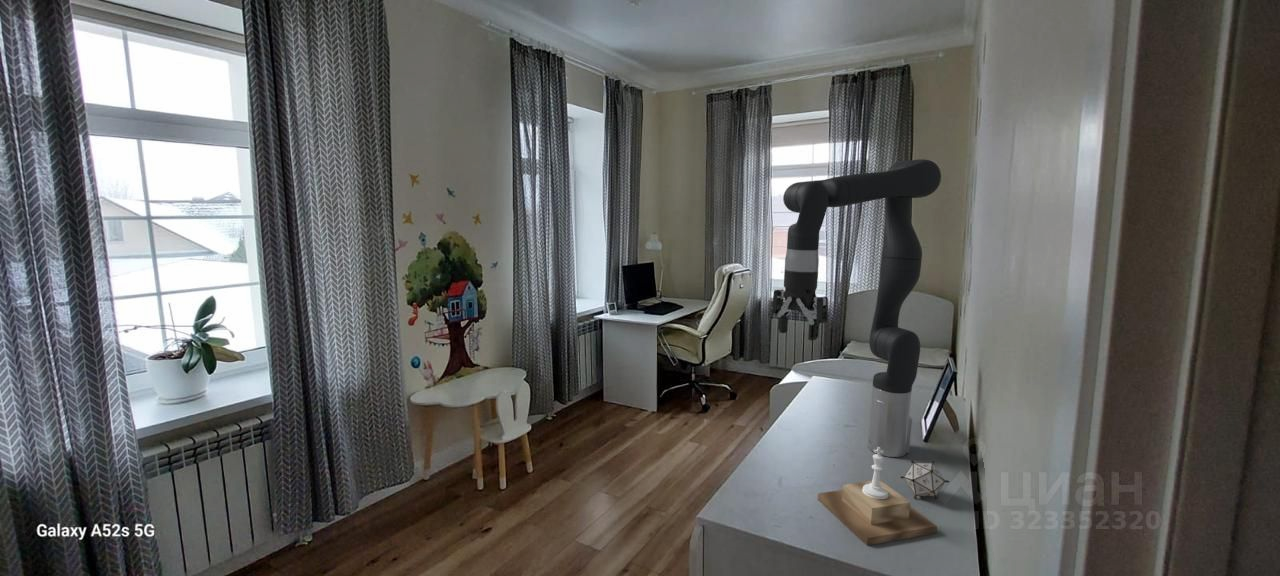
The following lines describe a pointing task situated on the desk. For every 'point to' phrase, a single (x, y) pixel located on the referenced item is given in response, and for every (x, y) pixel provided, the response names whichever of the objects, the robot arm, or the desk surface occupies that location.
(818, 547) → the desk surface
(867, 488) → the chess piece
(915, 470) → the game die
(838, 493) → the walnut base
